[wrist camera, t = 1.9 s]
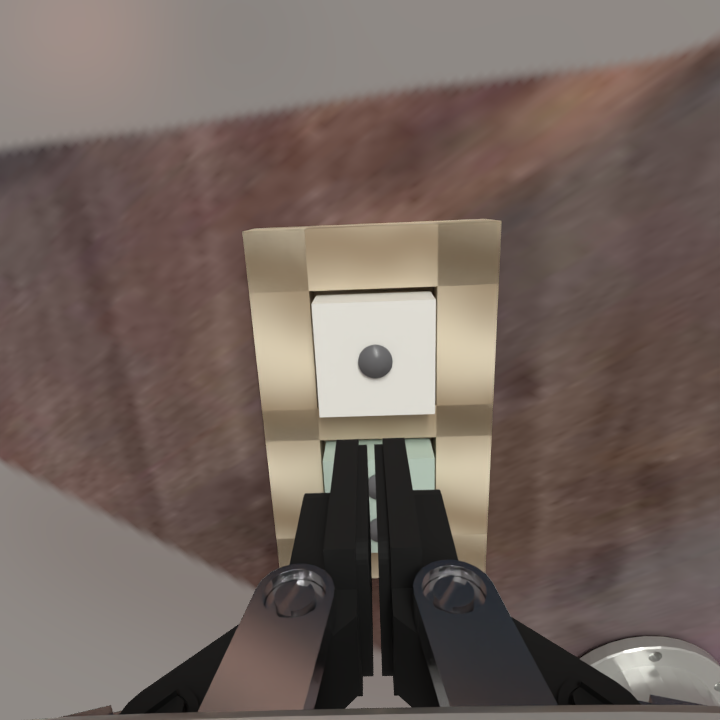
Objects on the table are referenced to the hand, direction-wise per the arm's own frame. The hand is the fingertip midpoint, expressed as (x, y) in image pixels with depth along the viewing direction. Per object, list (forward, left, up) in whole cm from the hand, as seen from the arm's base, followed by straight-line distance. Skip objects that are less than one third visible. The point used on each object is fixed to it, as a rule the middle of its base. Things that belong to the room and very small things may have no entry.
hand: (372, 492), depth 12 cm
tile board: (-4, 0, -16) cm, 17 cm away
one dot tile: (0, 0, -13) cm, 14 cm away
